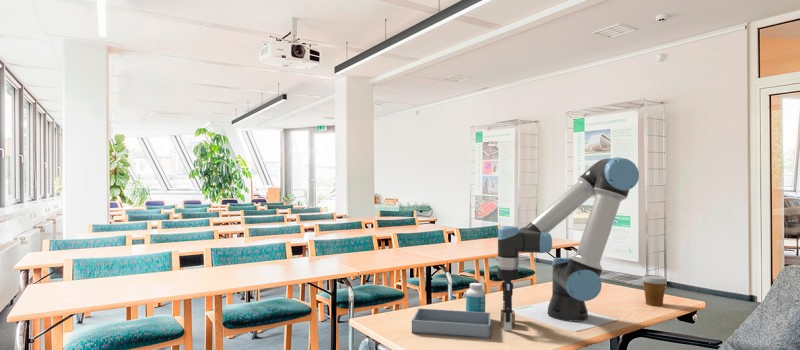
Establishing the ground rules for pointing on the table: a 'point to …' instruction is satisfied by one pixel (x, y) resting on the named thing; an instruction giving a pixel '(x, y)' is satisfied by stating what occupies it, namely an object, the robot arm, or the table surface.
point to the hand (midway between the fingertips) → (506, 324)
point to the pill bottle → (475, 298)
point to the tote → (451, 323)
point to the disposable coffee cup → (654, 289)
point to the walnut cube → (512, 319)
